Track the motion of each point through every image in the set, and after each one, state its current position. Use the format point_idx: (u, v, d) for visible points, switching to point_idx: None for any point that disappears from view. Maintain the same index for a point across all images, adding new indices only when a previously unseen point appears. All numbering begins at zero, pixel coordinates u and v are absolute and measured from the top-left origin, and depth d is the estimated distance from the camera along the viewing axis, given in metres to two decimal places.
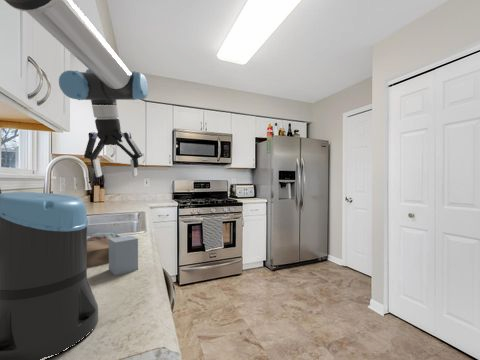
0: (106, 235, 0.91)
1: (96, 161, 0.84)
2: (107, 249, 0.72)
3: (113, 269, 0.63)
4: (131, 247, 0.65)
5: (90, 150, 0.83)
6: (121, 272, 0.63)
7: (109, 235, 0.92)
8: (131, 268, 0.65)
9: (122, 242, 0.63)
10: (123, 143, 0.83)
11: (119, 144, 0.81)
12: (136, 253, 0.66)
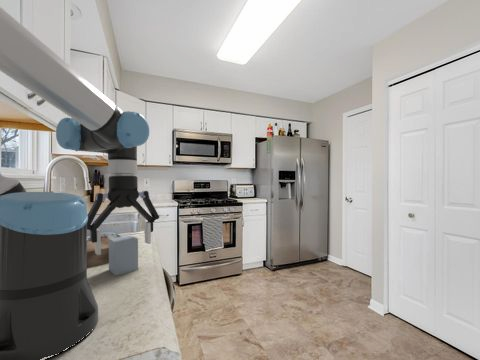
0: (107, 235, 0.92)
1: None
2: (107, 249, 0.72)
3: (113, 269, 0.63)
4: (131, 247, 0.65)
5: None
6: (121, 272, 0.63)
7: (110, 235, 0.93)
8: (131, 268, 0.65)
9: (122, 242, 0.63)
10: None
11: (138, 205, 0.68)
12: (136, 253, 0.66)
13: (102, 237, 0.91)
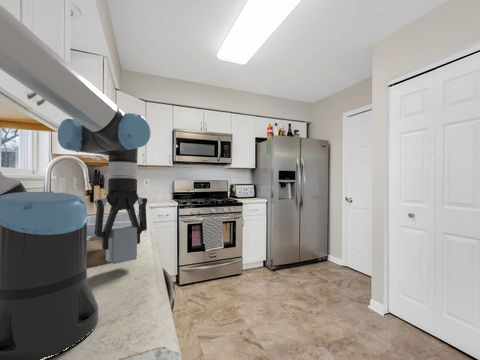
0: None
1: None
2: None
3: None
4: (130, 236, 0.64)
5: None
6: (119, 261, 0.62)
7: None
8: (129, 257, 0.64)
9: (121, 230, 0.63)
10: None
11: (133, 210, 0.66)
12: (135, 242, 0.65)
13: None
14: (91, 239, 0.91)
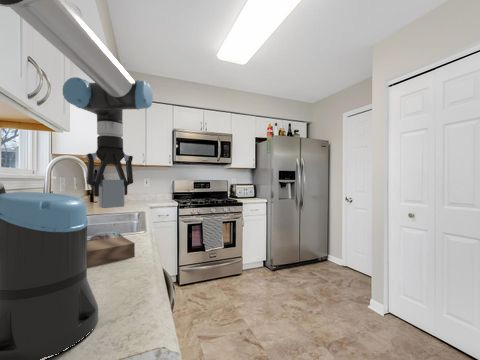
0: (108, 234, 0.93)
1: None
2: (106, 249, 0.72)
3: (102, 203, 0.73)
4: (117, 186, 0.75)
5: (92, 174, 0.72)
6: (108, 206, 0.73)
7: (111, 234, 0.94)
8: (117, 204, 0.75)
9: (109, 180, 0.73)
10: None
11: (120, 165, 0.77)
12: (122, 192, 0.76)
13: (104, 236, 0.92)
14: (92, 239, 0.91)
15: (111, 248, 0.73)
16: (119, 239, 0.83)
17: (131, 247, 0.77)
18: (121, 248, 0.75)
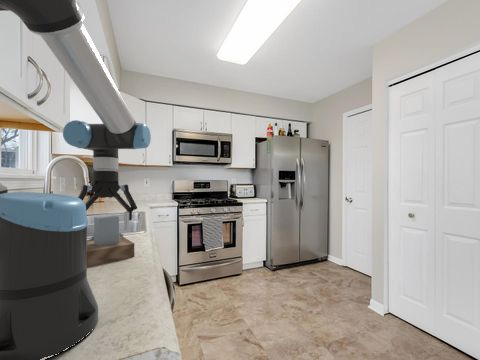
0: None
1: None
2: (106, 249, 0.72)
3: (97, 241, 0.75)
4: (113, 223, 0.77)
5: None
6: (104, 244, 0.75)
7: None
8: (113, 241, 0.77)
9: (105, 219, 0.75)
10: None
11: (118, 196, 0.79)
12: (117, 229, 0.78)
13: None
14: (93, 238, 0.92)
15: (111, 248, 0.73)
16: (119, 239, 0.83)
17: (131, 247, 0.77)
18: (121, 248, 0.75)
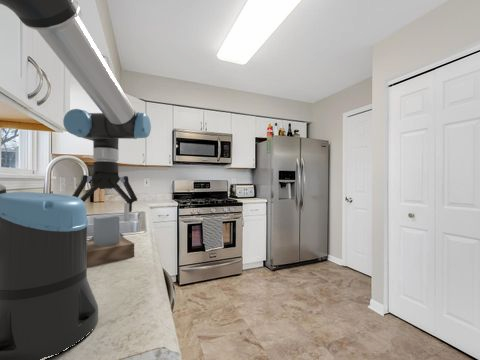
0: None
1: None
2: (106, 250, 0.72)
3: (98, 242, 0.75)
4: (113, 223, 0.77)
5: (78, 195, 0.72)
6: (105, 244, 0.75)
7: None
8: (113, 241, 0.77)
9: (105, 219, 0.75)
10: None
11: (118, 187, 0.79)
12: (118, 229, 0.78)
13: None
14: (93, 238, 0.92)
15: (111, 248, 0.73)
16: (119, 239, 0.83)
17: (131, 247, 0.77)
18: (121, 248, 0.75)
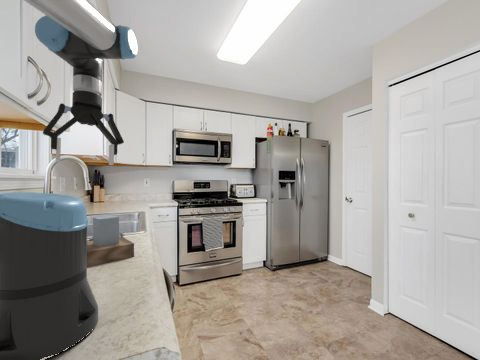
0: None
1: None
2: (105, 249, 0.72)
3: (97, 242, 0.74)
4: (113, 223, 0.77)
5: (54, 125, 0.63)
6: (104, 244, 0.74)
7: None
8: (113, 241, 0.77)
9: (105, 219, 0.75)
10: None
11: (101, 124, 0.71)
12: (117, 229, 0.78)
13: None
14: None
15: (110, 248, 0.73)
16: (119, 239, 0.83)
17: (131, 247, 0.77)
18: (120, 248, 0.75)
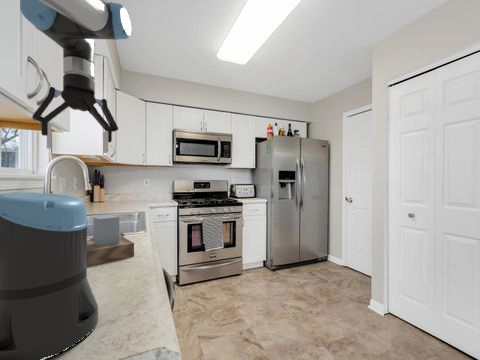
0: None
1: None
2: (105, 249, 0.72)
3: (98, 242, 0.75)
4: (113, 223, 0.77)
5: (44, 110, 0.60)
6: (105, 244, 0.75)
7: None
8: (113, 241, 0.77)
9: (105, 219, 0.75)
10: None
11: (95, 110, 0.68)
12: (118, 229, 0.78)
13: None
14: None
15: (110, 248, 0.73)
16: (119, 239, 0.83)
17: (131, 247, 0.77)
18: (120, 248, 0.75)
